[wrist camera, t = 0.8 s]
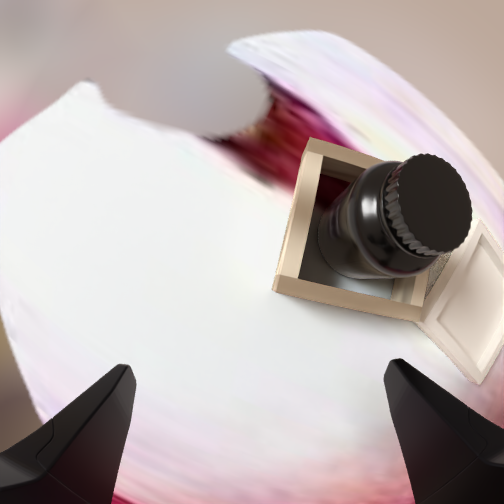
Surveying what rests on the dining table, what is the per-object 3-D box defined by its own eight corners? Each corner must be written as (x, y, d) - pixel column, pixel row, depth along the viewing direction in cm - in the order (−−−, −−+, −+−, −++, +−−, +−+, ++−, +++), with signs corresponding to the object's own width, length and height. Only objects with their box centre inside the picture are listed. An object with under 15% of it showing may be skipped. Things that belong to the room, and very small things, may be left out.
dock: (468, 380, 22) (479, 385, 20) (411, 319, 22) (423, 322, 20) (515, 291, 22) (526, 292, 20) (467, 221, 23) (479, 218, 21)
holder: (397, 317, 22) (418, 322, 19) (271, 289, 22) (275, 292, 19) (417, 193, 23) (437, 182, 20) (302, 155, 23) (310, 137, 20)
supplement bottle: (398, 215, 23) (491, 175, 11) (376, 289, 22) (473, 298, 10) (329, 183, 23) (391, 110, 11) (302, 260, 23) (357, 245, 11)
